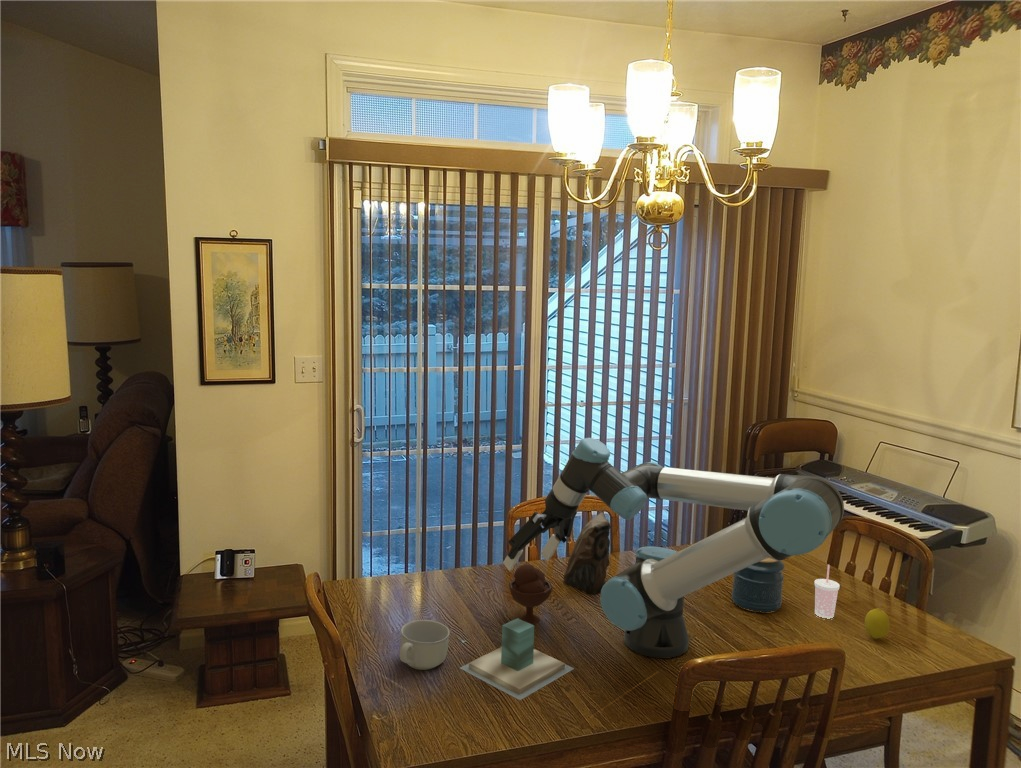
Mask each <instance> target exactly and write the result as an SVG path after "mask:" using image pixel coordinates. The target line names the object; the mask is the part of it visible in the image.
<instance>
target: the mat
mask: <svg viewBox="0 0 1021 768" xmlns="http://www.w3.org/2000/svg"><path fill="white" fill-rule="evenodd" d="M469 663H470V662H469ZM469 663H467V664H464V665H463V666H460V667H459V669H460V670H461V671H464V672H466V673H468V674H470V675H471V676H473V677H475V678H477V679H479V680H481V681H483V682H484V683H486V684H488V685H491V687H494V688H495V689H498V690H499V691H501V692H503V693H505V694H507V695H509V696H510V697H513V698H514V699H516V700H518V701H521V700H523V699H526V698H527V697H529V696H531V695H532V694H533V693H535V692H537V691H539V690H541V689H542V688H544V687H545V686H547V685H549V684H551V683H552V682H555V681H556V680H558V679H559V678H562V677H563V676H564V675H566V674H567V673H570V672H572V671H573V670H575V668H574V667H572V666H570V665H568V664H566V663H565V669H563V670H561V671H560V672H558V673H556V674H554V675H553V676H551V677H549V678H547V679H546V680H544V681H542V682H540V683H539V684H537V685H535V686H533V687H532V688H530V689H528V690H527V691H525V692H523V693H521V694H520V695H519V694H517V693H516V692H514V691H512V690H510V689H508V688H506V687H504V686H502V685H500V684H498V683H497V682H495V681H493V680H491V679H489V678H487V677H485V676H483V675H481V674H479V673H478V672H476V671H474V670H472V669H470V668H469Z"/></svg>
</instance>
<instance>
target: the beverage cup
mask: <svg viewBox="0 0 1021 768" xmlns="http://www.w3.org/2000/svg"><path fill="white" fill-rule="evenodd" d="M826 569H827V571H826V578H817V579H815V580H814V581H813V582H814V588H815V589H814V590H815V591H814V615H815V614H816V615H817V616H819V617H822V618H827V619H830V618H833V617H835V611H836V604H837V599H838V592H839V589H840V583H838V582H837V581H835V580H833V579H829V578H830V577H829V576H830V569H831V568H830V564H827V567H826ZM817 616H816V617H817ZM833 619H834V618H833Z"/></svg>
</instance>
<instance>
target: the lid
mask: <svg viewBox="0 0 1021 768" xmlns="http://www.w3.org/2000/svg"><path fill="white" fill-rule="evenodd" d="M534 645H535V625H534V624H530V623H527V622H525V621H523V620H520V619H519V617H518V618H515V619H512V620H510V621H508V622H507V623H504V624H502V625H501V646H500V647H499V648H497V649H494V650H492V651H491V652H488V653H486V654H484V655H482V656H480V657H478V658H476V659H474V660H472V661H470V662H469V668H470V669H472V670H474V671H476V672H478V673H479V674H481V675H483V676H485V677H487V678H489V679H491V680H493V681H495V682H497V683H498V684H500V685H502V686H504V687H506V688H508V689H510V690H512V691H514V692H516V693H517V694H519V695H520V694H521V693H523V692H525V691H527V690H528V689H530V688H532V687H533V686H535V685H537V684H539V683H540V682H542V681H544V680H546V679H547V678H549V677H551V676H553V675H554V674H556V673H558V672H560V671H561V670H563V669H565V664H566V663H565V662H563V661H561V660H559V659H557V658H554V657H552V656H550V655H548V654H546V653H543V652H542V651H539V650H537V649H535V648H534V647H535V646H534Z"/></svg>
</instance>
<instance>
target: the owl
mask: <svg viewBox="0 0 1021 768" xmlns="http://www.w3.org/2000/svg"><path fill="white" fill-rule="evenodd" d="M611 528H612V526H611V523H610V521H609V519H608V518H606V515H605V513H604V512H603V511H601V512H600V513H598V514H597V515H596V516H594V517H593V518H591V519H590V520H589V521H588V522H587V523H586V524H585V525H584V526H583V528H582V529H581V531H580V533H579V535H578V537H577V538H576V539H575V543H574V547H573V548H572V551H571V553H570V555H569V558H568V562H567V566H566V569H565V572H564V574H563V581H562V583H563V584H565V585H568V586H571V587H572V588H575V589H576V590H578V591H582V592H584V593H586V594H588V595H592V596H593V595H594V596H595V595H599V594H601V590H602V587H603V586H604V584H605V583H606V577H607V569H608V567H609V566H610V563H611V561H610V545H611V541H610V538H609V536H610V530H611Z"/></svg>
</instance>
